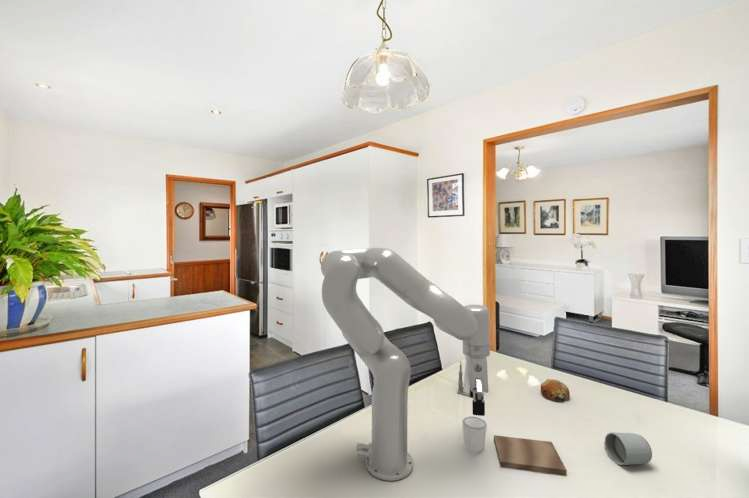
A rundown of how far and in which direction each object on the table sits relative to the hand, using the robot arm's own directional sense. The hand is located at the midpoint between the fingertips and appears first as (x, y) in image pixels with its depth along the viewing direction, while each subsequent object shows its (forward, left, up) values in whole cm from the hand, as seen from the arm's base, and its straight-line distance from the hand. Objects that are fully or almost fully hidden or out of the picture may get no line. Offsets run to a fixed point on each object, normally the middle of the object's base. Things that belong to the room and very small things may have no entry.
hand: (476, 406), depth 98 cm
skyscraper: (+1, +35, -12) cm, 37 cm away
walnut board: (+13, -2, -12) cm, 18 cm away
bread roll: (+32, +37, -12) cm, 51 cm away
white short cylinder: (-1, 0, -12) cm, 12 cm away
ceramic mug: (+39, +2, -12) cm, 41 cm away
